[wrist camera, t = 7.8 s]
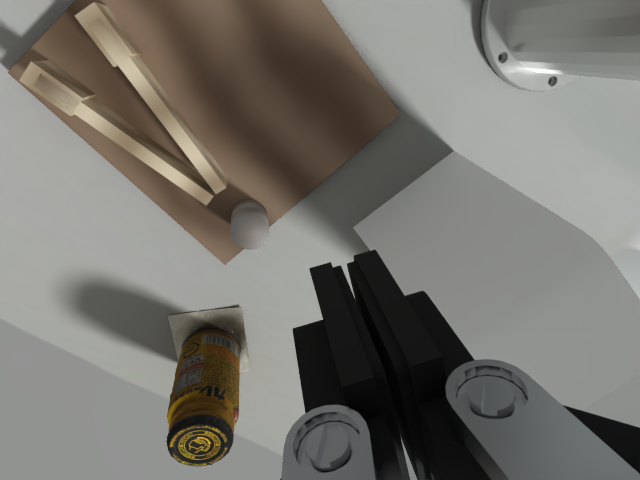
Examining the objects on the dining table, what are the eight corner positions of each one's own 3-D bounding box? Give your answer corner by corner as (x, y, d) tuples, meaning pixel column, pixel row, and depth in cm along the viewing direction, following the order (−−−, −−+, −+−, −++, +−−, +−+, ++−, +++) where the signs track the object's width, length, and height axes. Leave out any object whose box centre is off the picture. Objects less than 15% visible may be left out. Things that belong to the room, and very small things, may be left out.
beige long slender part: (274, 213, 39) (277, 228, 35) (252, 239, 39) (253, 256, 36) (55, 51, 31) (33, 51, 27) (32, 86, 31) (8, 90, 28)
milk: (453, 150, 40) (749, 293, 17) (504, 235, 45) (787, 437, 21) (352, 227, 42) (493, 456, 18) (411, 300, 46) (582, 557, 23)
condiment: (182, 379, 46) (164, 481, 35) (167, 314, 42) (141, 405, 31) (250, 369, 47) (252, 466, 36) (241, 305, 43) (240, 390, 32)
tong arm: (230, 175, 36) (229, 185, 34) (215, 185, 37) (212, 196, 34) (107, 6, 30) (94, 1, 27) (89, 18, 30) (74, 15, 28)
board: (217, -143, 29) (216, -150, 28) (397, 112, 38) (401, 114, 37) (14, 71, 32) (7, 72, 31) (225, 260, 41) (225, 264, 40)
